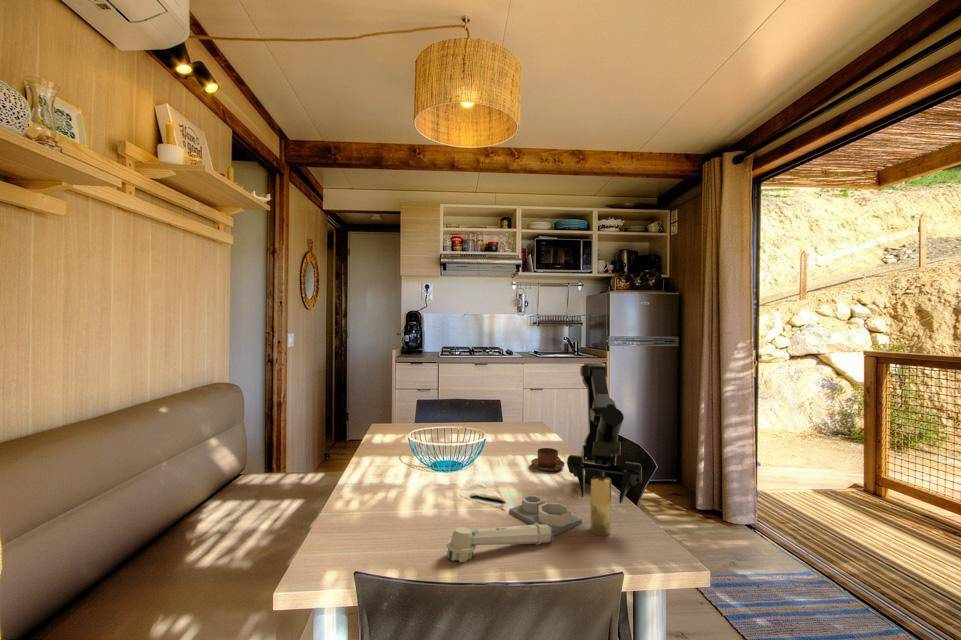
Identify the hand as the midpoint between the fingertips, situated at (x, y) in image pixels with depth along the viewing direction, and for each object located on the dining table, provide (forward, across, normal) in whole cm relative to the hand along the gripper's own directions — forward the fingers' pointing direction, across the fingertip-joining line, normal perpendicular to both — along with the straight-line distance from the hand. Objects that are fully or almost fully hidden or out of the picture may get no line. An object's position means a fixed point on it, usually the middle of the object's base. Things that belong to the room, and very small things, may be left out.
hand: (601, 499), depth 108 cm
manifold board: (+4, -15, +6) cm, 17 cm away
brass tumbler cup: (+6, 0, +6) cm, 8 cm away
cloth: (-1, -37, +13) cm, 39 cm away
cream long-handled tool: (+19, -20, -7) cm, 28 cm away
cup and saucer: (-24, -24, +35) cm, 49 cm away
